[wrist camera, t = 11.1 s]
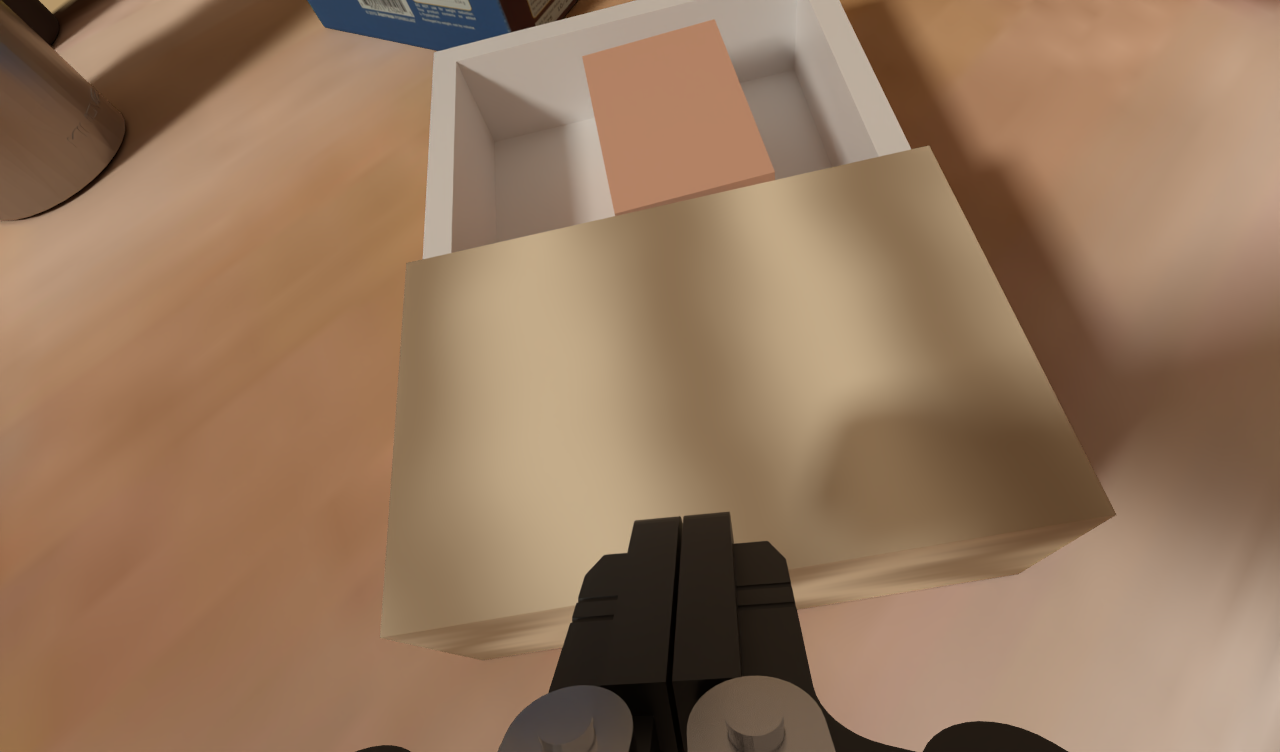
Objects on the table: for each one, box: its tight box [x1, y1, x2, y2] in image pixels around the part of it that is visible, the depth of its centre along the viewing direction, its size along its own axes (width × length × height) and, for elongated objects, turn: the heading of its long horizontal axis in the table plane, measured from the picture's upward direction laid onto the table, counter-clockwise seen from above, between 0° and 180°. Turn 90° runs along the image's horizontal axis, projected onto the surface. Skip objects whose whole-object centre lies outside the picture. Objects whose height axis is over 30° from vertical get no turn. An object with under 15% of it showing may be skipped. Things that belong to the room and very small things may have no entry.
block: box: [582, 19, 775, 216], centre depth 24 cm, size 5×5×8 cm
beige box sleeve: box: [380, 146, 1116, 660], centre depth 19 cm, size 16×11×6 cm
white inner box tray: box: [423, 0, 911, 259], centre depth 25 cm, size 16×12×5 cm
